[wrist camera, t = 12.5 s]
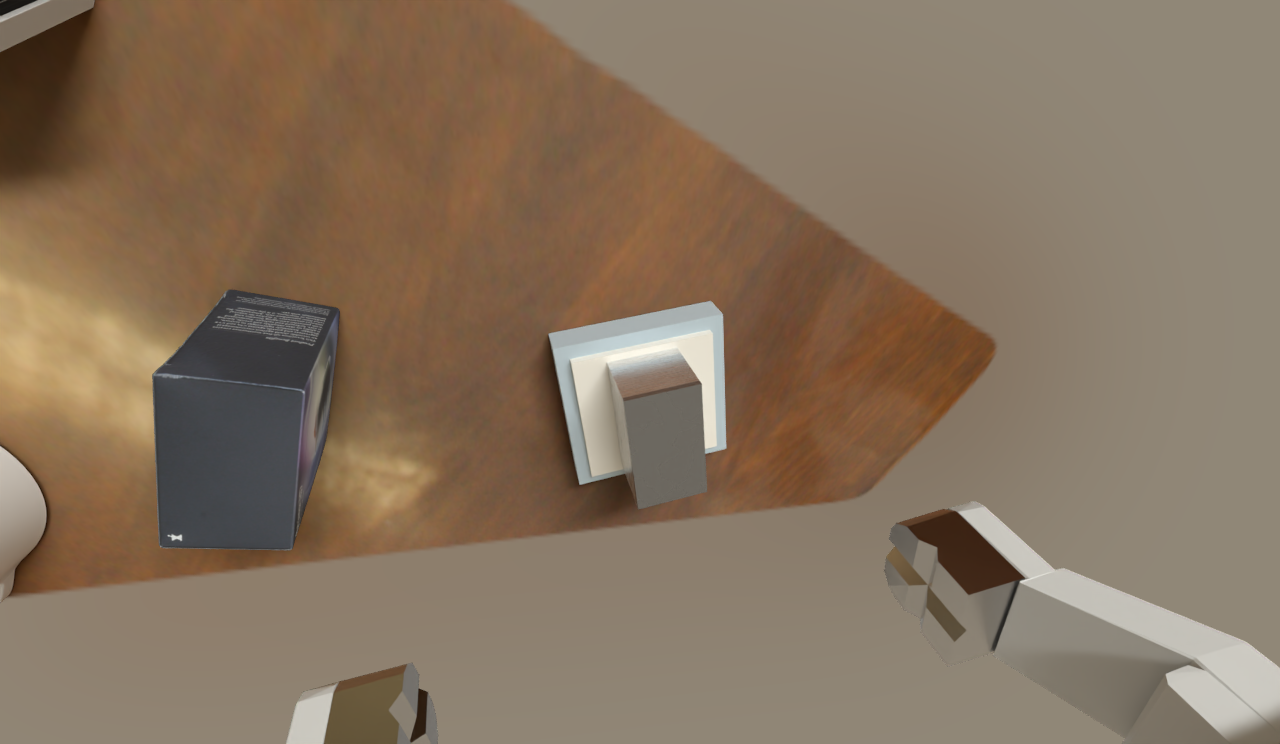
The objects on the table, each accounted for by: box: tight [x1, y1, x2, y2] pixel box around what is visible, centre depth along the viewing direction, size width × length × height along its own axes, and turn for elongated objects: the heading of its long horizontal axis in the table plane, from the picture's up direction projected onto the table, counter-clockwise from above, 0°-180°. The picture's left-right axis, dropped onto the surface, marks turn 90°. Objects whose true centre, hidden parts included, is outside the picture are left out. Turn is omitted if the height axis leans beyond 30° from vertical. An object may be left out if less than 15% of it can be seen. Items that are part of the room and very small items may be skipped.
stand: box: [549, 301, 726, 485], centre depth 44 cm, size 12×12×3 cm
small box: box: [152, 290, 340, 550], centre depth 33 cm, size 11×6×10 cm, turn 162°
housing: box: [607, 348, 707, 509], centre depth 40 cm, size 9×5×5 cm, turn 6°
